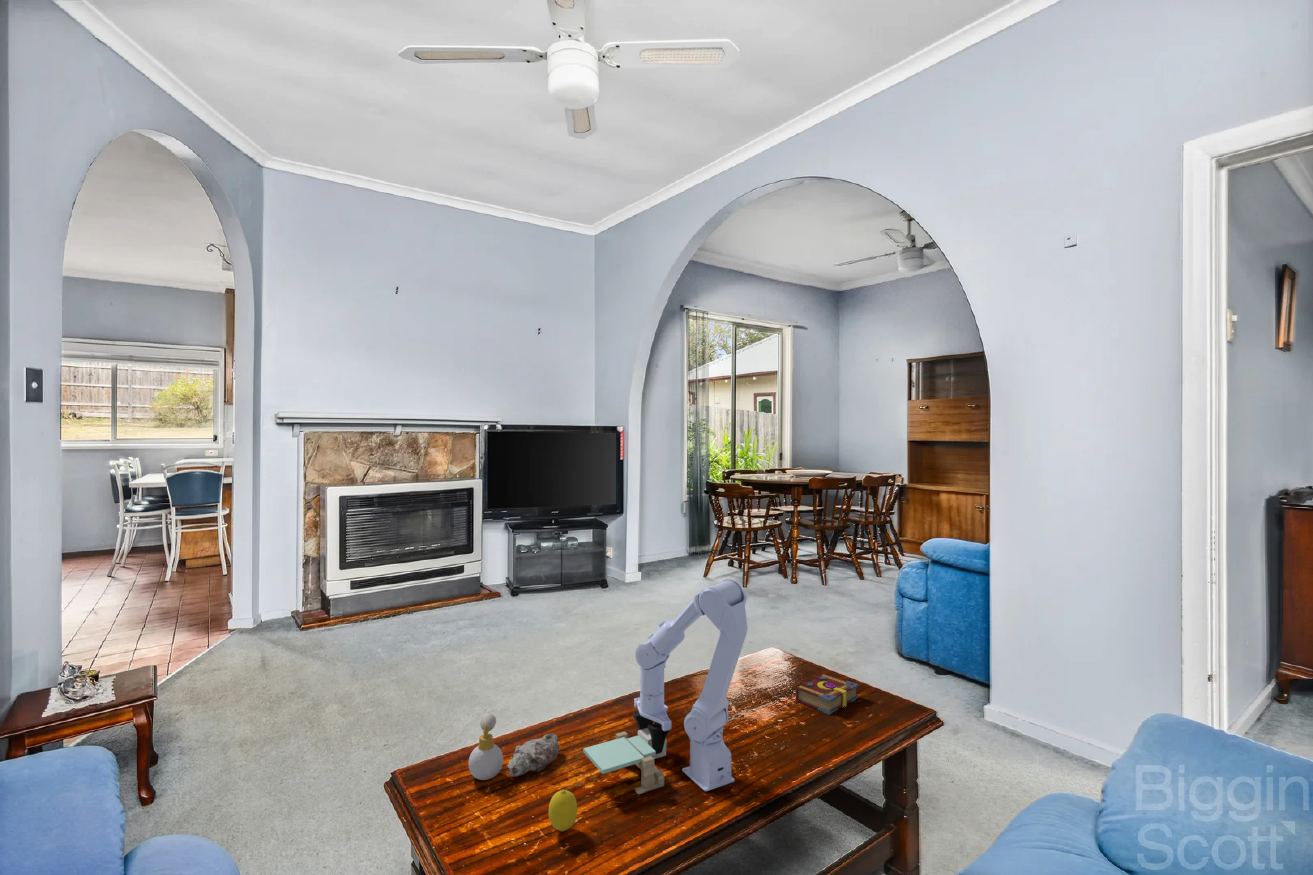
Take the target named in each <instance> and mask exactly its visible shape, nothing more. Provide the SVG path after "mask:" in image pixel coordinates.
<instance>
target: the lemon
mask: <svg viewBox="0 0 1313 875" xmlns="http://www.w3.org/2000/svg"><path fill="white" fill-rule="evenodd" d="M577 818H578V803H577V799H576V797H575V795H574V793H572V792H571V791H569V790H568V789H561V790H559V791H557V792H556V793H554V794H553V795H552V797H551V799H550V801H549V805H548V820H549V822H550V825H551V826H552V827H553V828H554V829H556V831H557V830H558V831H560V832H565V831H567V830H570V828H571V827H573V826H574V824H575V822H576V821H577Z"/></svg>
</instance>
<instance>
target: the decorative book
mask: <svg viewBox="0 0 1313 875" xmlns="http://www.w3.org/2000/svg"><path fill="white" fill-rule="evenodd" d="M858 687H859V684H858V683H856V682H853V681H850V680H844V679H842V678H838V677H835V676H832V675H830V674H827V673H823V674H821V675H819V674H818V675H816V676H814V679H811V680H809V681H806V680H805V681H802V682H801V684H800V685H799V686H796V688H795V689H796V691H795V692H796V693H795V695H796V696H795V698H796V699H795V702H798V703H801V704H804V705H805V706H809V707H811V708H814V709H815V710H818V711H819V710H820V711H819V712H821V711H822V713H823V714H826V715H828V716H830V714H831V715H832V714H834V713H836V712H837V711H838V710H839V709H841V708H843V707H844V706H845V707H847V704H849V703H853V702H855V701H857V700H858V699H859V695H857V689H858ZM857 698H858V699H857ZM856 699H857V700H856ZM845 707H844V708H845ZM835 711H836V712H835ZM833 712H834V713H833Z"/></svg>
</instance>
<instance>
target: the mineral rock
mask: <svg viewBox="0 0 1313 875" xmlns="http://www.w3.org/2000/svg"><path fill="white" fill-rule="evenodd" d="M514 749H515V750H514V752H513V754H512V755H511V759H510V760H509V761H508V763H507V768H508V771H509V777H513V778H514V777H519V776H523V775H525V774H527V773H528V772H529V771H533V772H535V773H538V772H541V771H542V770H545V768H546V766H548V765H551V763H553V762H555V760H556V759H557V757H558V756H559V755H558V753H559V749H560V745H559V738H558V735H557V734H555V733H552V732H548V733H547V734H545V735H543V736H542V737H540V738H535V739H534V738H533V739H529V740H528V741H525V742H523V744H522V745H520V744H518V745H516V746H515V748H514Z"/></svg>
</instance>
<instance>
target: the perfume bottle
mask: <svg viewBox="0 0 1313 875" xmlns="http://www.w3.org/2000/svg"><path fill="white" fill-rule="evenodd" d="M496 724H497V718H496V716H495V715H494V714H493V713H491V712H488V713H485V714H483V716H482V717H481V718H480V722H479V726H480V729H481V730H482V732H483V734H481V735H480V736H479V738H478V739H479V740H478V745H477V746H476V747H474V748H473V750H472V752H471V753H470V755H469V758H468V770H469V772H470V774H471V776H472V777H474V778H475V779H477V780H480V781H487V780H490V779H493V778H494V777H496V776H497V775H498V774H499V773H500V771H501V770H502V767H503V764H504V754H503V752H502V750H501V748H500V747H499V746H498V745H497V744H495V743H494V740H493V738H494V736H493V734H491V733H489V732H490V731H493V729H494V728H495V726H496Z"/></svg>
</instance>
